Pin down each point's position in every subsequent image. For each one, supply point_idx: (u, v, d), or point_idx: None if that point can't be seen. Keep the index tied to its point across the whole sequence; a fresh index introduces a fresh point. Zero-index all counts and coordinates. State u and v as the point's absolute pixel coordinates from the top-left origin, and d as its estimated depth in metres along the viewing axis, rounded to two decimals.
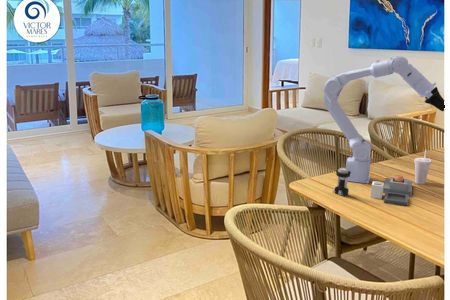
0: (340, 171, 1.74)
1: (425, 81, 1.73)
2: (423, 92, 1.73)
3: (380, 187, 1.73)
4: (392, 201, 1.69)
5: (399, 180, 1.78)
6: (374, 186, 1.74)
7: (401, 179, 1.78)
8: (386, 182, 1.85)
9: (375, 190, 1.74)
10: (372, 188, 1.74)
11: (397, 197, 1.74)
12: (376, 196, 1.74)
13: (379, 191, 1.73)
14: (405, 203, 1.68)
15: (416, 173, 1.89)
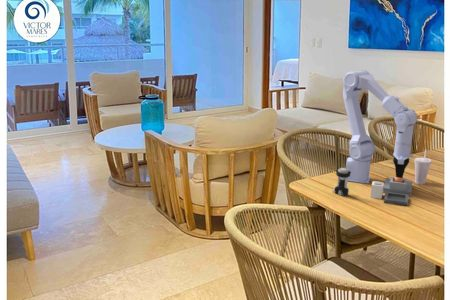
0: (340, 171, 1.74)
1: (408, 148, 1.73)
2: (398, 154, 1.75)
3: (380, 187, 1.73)
4: (392, 201, 1.69)
5: (399, 181, 1.78)
6: (374, 186, 1.74)
7: (401, 180, 1.78)
8: (386, 182, 1.85)
9: (375, 190, 1.74)
10: (372, 188, 1.74)
11: (397, 197, 1.74)
12: (376, 196, 1.74)
13: (379, 191, 1.73)
14: (405, 203, 1.68)
15: (416, 173, 1.89)
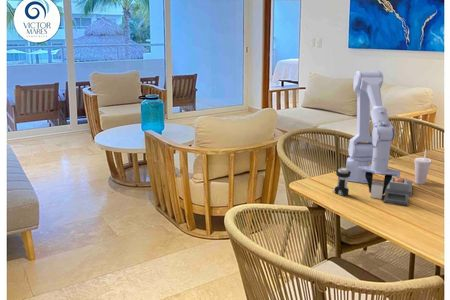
0: (340, 171, 1.74)
1: (374, 163, 1.71)
2: None
3: (380, 187, 1.73)
4: (392, 201, 1.69)
5: None
6: (374, 186, 1.74)
7: (401, 181, 1.78)
8: None
9: (375, 190, 1.74)
10: (372, 188, 1.74)
11: (397, 197, 1.74)
12: (376, 196, 1.74)
13: (379, 191, 1.73)
14: (405, 203, 1.68)
15: (416, 173, 1.89)
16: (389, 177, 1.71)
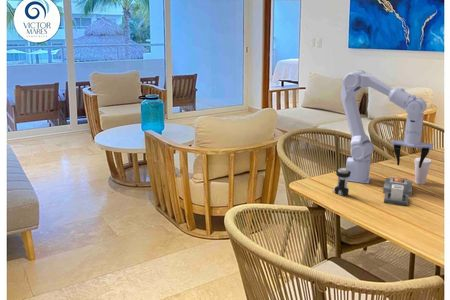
0: (340, 171, 1.74)
1: (407, 136, 1.75)
2: None
3: (400, 190, 1.69)
4: (392, 201, 1.69)
5: None
6: (394, 189, 1.69)
7: (401, 181, 1.78)
8: (386, 182, 1.85)
9: (395, 193, 1.70)
10: (392, 191, 1.70)
11: None
12: (396, 199, 1.70)
13: (399, 194, 1.69)
14: (405, 203, 1.68)
15: (416, 173, 1.89)
16: (422, 150, 1.75)
